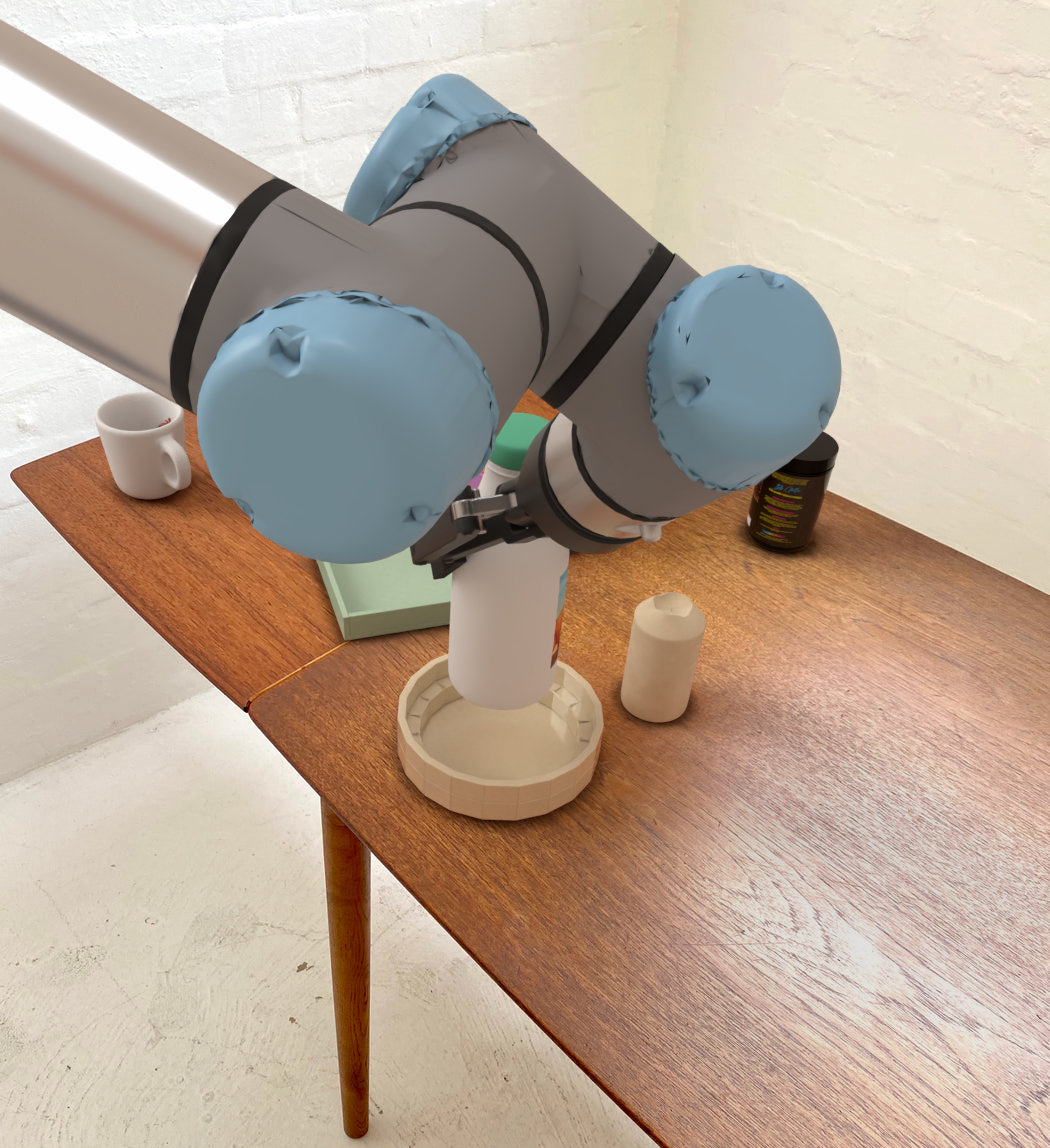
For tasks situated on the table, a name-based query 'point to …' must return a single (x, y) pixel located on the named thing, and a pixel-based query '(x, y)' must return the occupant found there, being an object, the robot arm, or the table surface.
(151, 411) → the cup
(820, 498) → the supplement container
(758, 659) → the table surface
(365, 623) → the tray
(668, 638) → the candle
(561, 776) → the bowl
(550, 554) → the milk bottle
